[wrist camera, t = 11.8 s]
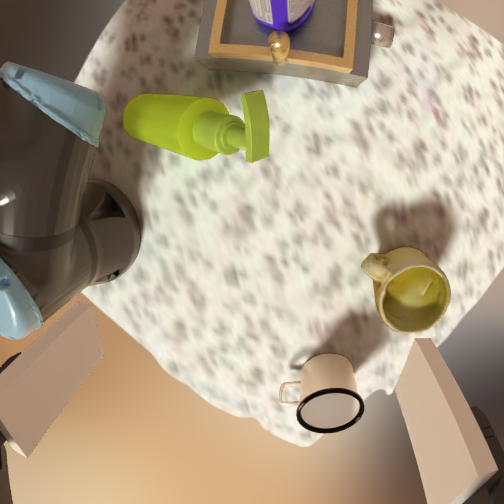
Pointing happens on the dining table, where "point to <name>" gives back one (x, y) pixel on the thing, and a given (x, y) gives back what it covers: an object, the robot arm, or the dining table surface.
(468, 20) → the dining table surface
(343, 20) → the grey and tan box
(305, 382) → the mug
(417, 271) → the mug
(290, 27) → the bottle
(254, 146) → the soap dispenser
